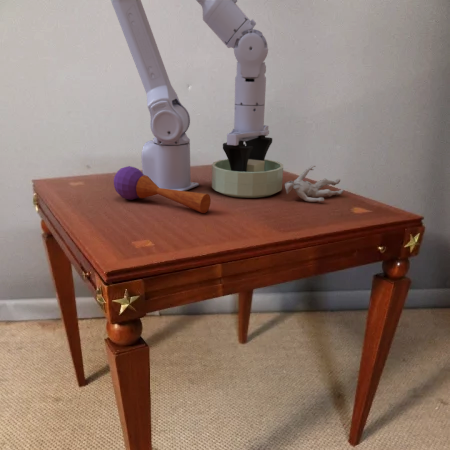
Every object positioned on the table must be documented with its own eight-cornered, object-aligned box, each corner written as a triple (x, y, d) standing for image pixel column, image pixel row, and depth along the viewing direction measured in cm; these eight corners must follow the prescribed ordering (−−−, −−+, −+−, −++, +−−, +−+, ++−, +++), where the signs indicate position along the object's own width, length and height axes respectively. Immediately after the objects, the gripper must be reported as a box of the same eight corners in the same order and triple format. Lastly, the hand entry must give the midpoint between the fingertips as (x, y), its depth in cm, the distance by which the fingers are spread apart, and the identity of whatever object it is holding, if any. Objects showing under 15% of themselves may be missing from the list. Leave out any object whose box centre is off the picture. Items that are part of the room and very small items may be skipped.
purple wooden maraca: (194, 194, 82) (104, 170, 90) (196, 226, 86) (110, 200, 94) (214, 180, 86) (125, 159, 94) (215, 212, 90) (130, 188, 98)
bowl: (199, 193, 99) (199, 167, 97) (232, 179, 110) (232, 155, 107) (264, 202, 93) (265, 175, 91) (291, 187, 104) (293, 162, 102)
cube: (231, 188, 100) (231, 162, 98) (241, 183, 104) (242, 158, 102) (253, 191, 98) (254, 165, 96) (263, 186, 102) (264, 160, 100)
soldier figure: (348, 205, 96) (305, 192, 89) (329, 217, 100) (287, 206, 93) (338, 170, 98) (296, 156, 91) (320, 184, 102) (278, 171, 95)
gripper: (252, 109, 86) (249, 188, 93) (283, 102, 98) (279, 173, 104) (217, 106, 89) (216, 183, 96) (251, 100, 100) (249, 169, 107)
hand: (247, 178), depth 100 cm, fingers open, 7 cm apart
